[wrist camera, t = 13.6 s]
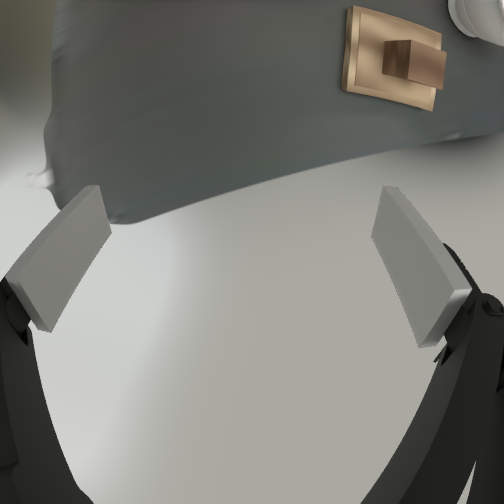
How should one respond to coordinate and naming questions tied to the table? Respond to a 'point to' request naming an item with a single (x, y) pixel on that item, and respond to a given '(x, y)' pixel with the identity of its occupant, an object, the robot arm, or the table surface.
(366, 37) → the base
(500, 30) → the jar
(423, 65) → the block
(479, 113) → the table surface
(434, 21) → the table surface
